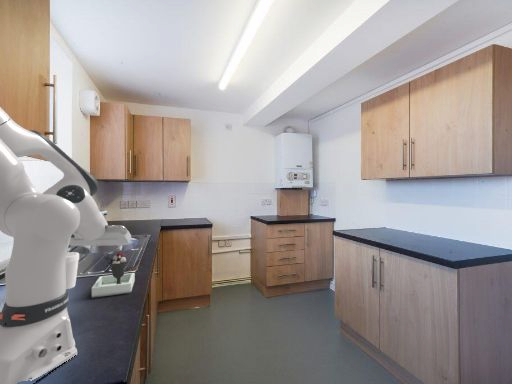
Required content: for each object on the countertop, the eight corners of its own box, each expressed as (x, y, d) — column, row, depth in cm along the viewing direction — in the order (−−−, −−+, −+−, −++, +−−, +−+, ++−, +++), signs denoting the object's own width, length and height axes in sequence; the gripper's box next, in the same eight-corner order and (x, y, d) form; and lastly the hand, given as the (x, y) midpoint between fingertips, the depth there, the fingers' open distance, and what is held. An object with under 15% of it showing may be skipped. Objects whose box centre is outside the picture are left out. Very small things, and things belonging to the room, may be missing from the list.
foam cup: (65, 292, 101) (64, 259, 100) (44, 291, 102) (43, 258, 102) (85, 283, 110) (84, 252, 110) (65, 282, 111) (65, 251, 111)
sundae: (131, 284, 107) (131, 247, 106) (118, 290, 100) (118, 251, 100) (118, 282, 109) (117, 246, 108) (105, 289, 102) (104, 250, 102)
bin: (130, 292, 100) (130, 283, 100) (91, 297, 96) (91, 288, 96) (134, 280, 112) (134, 272, 112) (100, 284, 108) (100, 276, 108)
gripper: (127, 218, 89) (137, 240, 99) (63, 219, 88) (81, 242, 98) (121, 233, 85) (133, 255, 95) (54, 234, 83) (74, 257, 93)
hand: (106, 248), depth 96 cm, fingers open, 8 cm apart
